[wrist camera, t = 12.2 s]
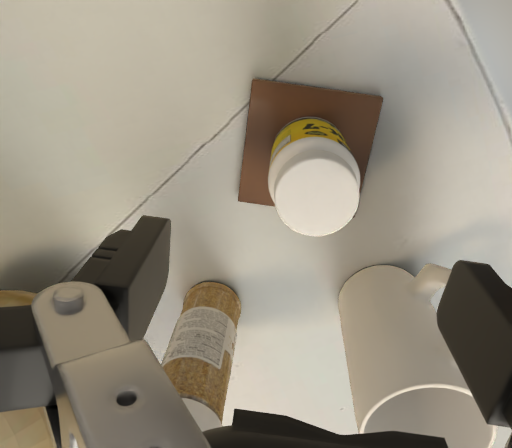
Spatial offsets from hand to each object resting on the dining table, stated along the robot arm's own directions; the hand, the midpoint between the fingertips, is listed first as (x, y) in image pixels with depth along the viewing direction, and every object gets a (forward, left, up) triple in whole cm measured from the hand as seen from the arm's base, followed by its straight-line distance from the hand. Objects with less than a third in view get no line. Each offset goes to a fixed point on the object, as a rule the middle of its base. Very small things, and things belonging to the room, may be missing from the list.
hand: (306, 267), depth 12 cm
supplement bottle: (+1, +1, -17) cm, 17 cm away
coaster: (+1, +1, -17) cm, 17 cm away
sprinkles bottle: (+14, -4, -18) cm, 23 cm away
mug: (+10, +9, -18) cm, 22 cm away
